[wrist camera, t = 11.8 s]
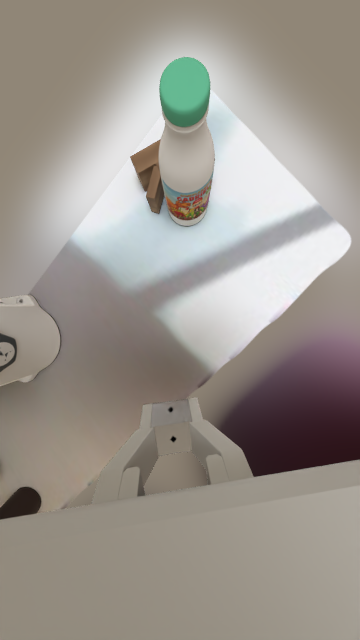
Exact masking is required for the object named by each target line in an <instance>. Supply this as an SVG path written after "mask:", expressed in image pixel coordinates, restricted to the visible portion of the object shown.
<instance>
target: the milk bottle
mask: <svg viewBox="0 0 360 640" xmlns="http://www.w3.org/2000/svg"><path fill="white" fill-rule="evenodd" d="M209 97H210V79H209V74H208V72H207V70H206V68H205V67H204V65H203V64H202V63H201V62H199V61H198V60H196V59H194V58H189V57H184V58H179V59H176V60H174V61H173V62H172V63H170V64H169V65H168V66H167V67H166V69H165V70H164V72H163V74H162V76H161V80H160V100H161V106H162V114H163V118H164V120H165V128H164V131H163V134H162V137H161V141H160V146H159V169H160V175H161V180H162V185H163V190H164V194H165V199H166V203H167V207H168V211H169V214H170V216H171V218H172V219H173V220H174V221H175V222H176V223H178V224H180V225H183V226H191V225H194V224H196V223H198V222H199V221H200V220H201V219H202V218H203V217H204V215H205V213H206V211H207V206H208V201H209V195H210V189H211V183H212V177H213V170H214V159H215V153H214V144H213V140H212V136H211V133H210V131H209V128H208V126H207V122H206V117H207V114H208V108H209V105H208V104H209Z"/></svg>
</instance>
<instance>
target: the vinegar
mask: <svg viewBox="0 0 360 640" xmlns="http://www.w3.org/2000/svg"><path fill="white" fill-rule="evenodd" d="M40 502H41V501H40V497H39V495H38V494H37V492H35V491H34V490H33V489H31V488H21V489H19V490H17V491H16V492H15V493H14V494H13V495H12V496H11V497H10V498H9V499H8V500H7V501H6V503H5V504H4V505H3V506H2V507H1V508H0V520H1V519H7V518H13V517H19V516H25V515H31V514H36V513H37V511H38V510H39V507H40Z"/></svg>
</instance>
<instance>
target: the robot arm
mask: <svg viewBox="0 0 360 640" xmlns="http://www.w3.org/2000/svg"><path fill="white" fill-rule="evenodd" d="M22 300H23V302H22ZM59 348H60V334H59V330H58V327H57V325H56V323H55V321H54V320H53V319H52V317H51V316H50V315H49V314H48V313H47V312H45V311H44V310H43V309H42V308H40V306H39V305H38V303H37V301H36V300H35V298H34V297H33V296H31V295H21V296H14V297H6V298H0V386H3V385H5V384H8V383H11V382H14V381H21V382H25V383H26V382H29V381H32V380H33V379H34V378H35V376H36V375H37V374H38V372H39V371H41V370H42V369H44V368H46V367H47V366H49V365H50V364H51V363H52V362H53V361H54V359H55V358H56V356H57V354H58V352H59ZM189 451H192V453H193V454H194V455H195V456H196V458H197V459H198V460H199V462H200V463H201V464H202V466H203V467H204V468H205V470H206V471H207V484H208V485H205V486H200V487H193V488H188V489H181V490H175V491H170V492H163V493H157V494H151V495H145V491H144V485H145V483H146V481H147V479H148V477H149V475H150V473H151V471H152V469H153V467H154V465H155V463H156V461H157V459H158V456H163V455H168V454H173V453H181V452H189ZM0 640H360V460H356V461H349V462H344V463H337V464H331V465H326V466H319V467H314V468H307V469H301V470H295V471H289V472H283V473H277V474H271V475H265V476H259V477H253V475H252V472H251V470H250V468H249V465H248V463H247V461H246V458H245V456H244V453H243V451H242V449H240V448H239V447H238V446H237V445H236V444H235V443H233V442H232V441H231V440H229V438H227V437H226V436H225V435H224V434H222V433H221V432H220V431H219V430H218V429H216V428H215V427H214V426H213V425H212V424H210V423H209V422H208V421H207V420H203V418H202V414H201V410H200V406H199V402H198V399H197V397H195V398H189V399H183V400H176V401H169V402H160V403H153V404H144V405H143V407H142V414H141V421H140V427H139V429H138V430H136V431H135V432H134V433H133V434H132V436H131V437H130V438H129V439H128V440H127V441H126V443H125V444H124V445H123V446H122V447H121V448H120V450H119V451H118V452H117V453H116V454H115V456H114V457H113V458H112V459H111V460H110V461H109V463H108V464H107V465H106V466H105V467H104V469H103V470H102V471H101V474H100V477H99V480H98V484H97V487H96V490H95V493H94V496H93V500H92V503H91V505H85V506H79V507H74V508H67V509H61V510H55V511H49V512H43V513H37V514H31V515H25V516H19V517H13V518H7V519H1V520H0Z"/></svg>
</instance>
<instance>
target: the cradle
mask: <svg viewBox="0 0 360 640" xmlns="http://www.w3.org/2000/svg"><path fill="white" fill-rule="evenodd" d="M160 141H161V139H160V140H159V141H157V142H155V143H153V144H152V145H150V146H148V147H146V148H145V149H143V150H141V151H139V152H138V153H136V154H134V155H132V156H131V157H130V158H131V160H132V163H133V165H134V168H135V170H136V173H137V175H138V178H139V180H140V182H141V184H142V186H143V188H144V190H145V192H146V191H147V190H148V191H147V194H146V198H147V201H148V203H149V206H150V208H151V211H152V212H155V213H158V214H159V212H160V209H161V205H162V201H163V198H164V190H163V185H162V180H161V175H160V169H159V146H160ZM214 161H215V159H214Z"/></svg>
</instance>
